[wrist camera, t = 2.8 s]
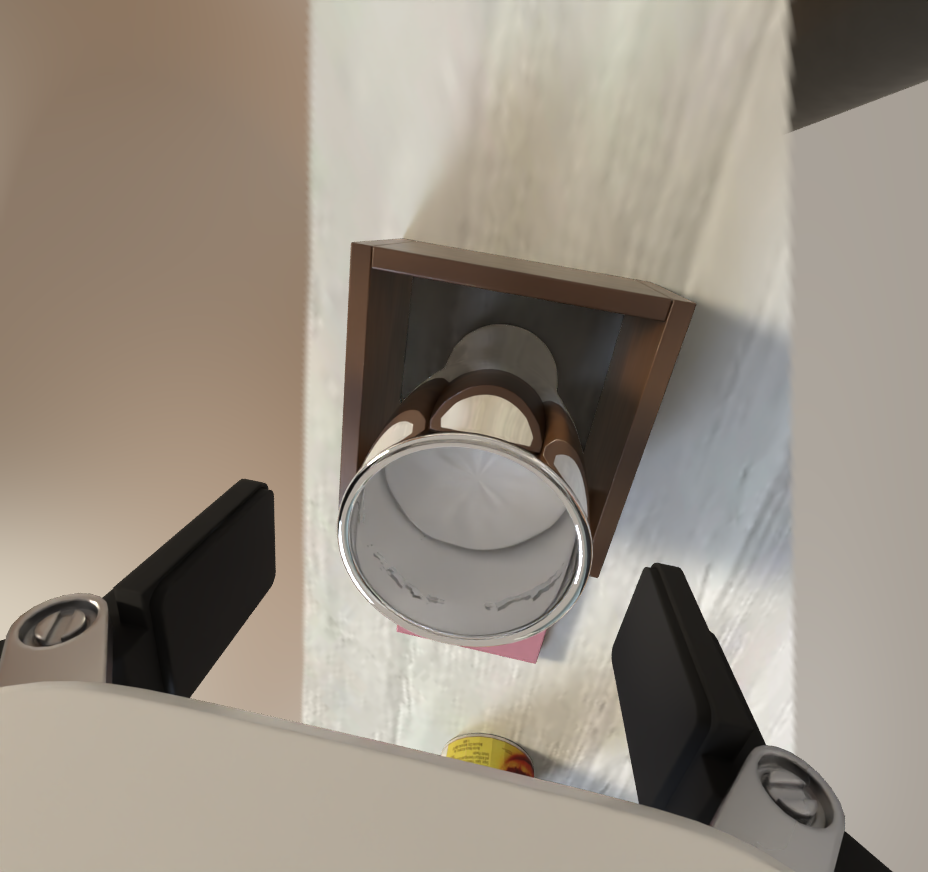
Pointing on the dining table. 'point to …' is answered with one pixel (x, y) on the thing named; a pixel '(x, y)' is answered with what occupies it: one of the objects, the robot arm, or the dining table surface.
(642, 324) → the brown wooden box
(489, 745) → the canned food
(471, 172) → the dining table surface
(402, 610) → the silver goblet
